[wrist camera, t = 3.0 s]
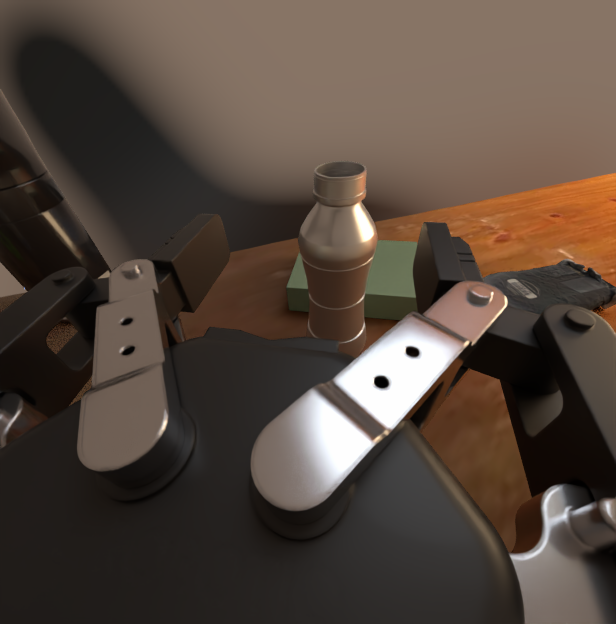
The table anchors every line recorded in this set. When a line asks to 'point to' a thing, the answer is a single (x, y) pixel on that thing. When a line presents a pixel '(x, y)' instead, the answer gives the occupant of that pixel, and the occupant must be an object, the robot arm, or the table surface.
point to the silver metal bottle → (338, 255)
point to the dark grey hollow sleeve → (554, 287)
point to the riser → (372, 282)
